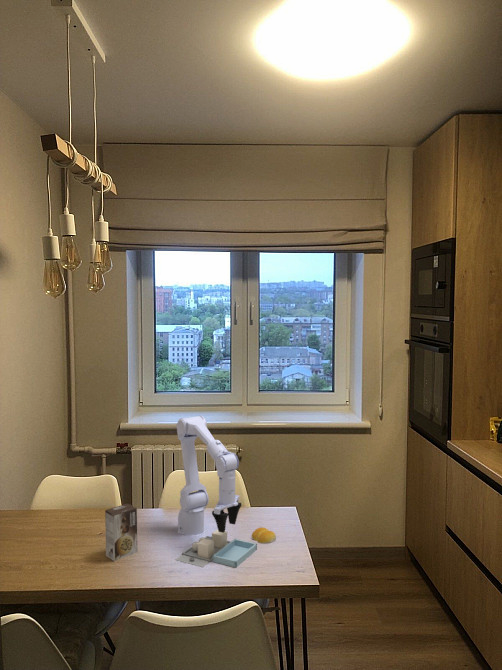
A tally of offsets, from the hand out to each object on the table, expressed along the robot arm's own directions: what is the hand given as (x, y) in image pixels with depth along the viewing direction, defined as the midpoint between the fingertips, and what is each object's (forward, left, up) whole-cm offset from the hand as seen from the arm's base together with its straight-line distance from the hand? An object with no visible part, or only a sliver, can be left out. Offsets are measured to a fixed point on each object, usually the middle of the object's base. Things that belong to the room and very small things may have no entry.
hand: (227, 527), depth 180 cm
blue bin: (+4, -1, -9) cm, 10 cm away
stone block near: (-5, -6, -8) cm, 11 cm away
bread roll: (+6, +16, -9) cm, 20 cm away
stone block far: (-5, +3, -8) cm, 10 cm away
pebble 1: (-10, -5, -8) cm, 14 cm away
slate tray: (-7, -3, -9) cm, 12 cm away
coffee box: (-32, -18, -9) cm, 38 cm away
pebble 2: (-10, -1, -8) cm, 13 cm away
